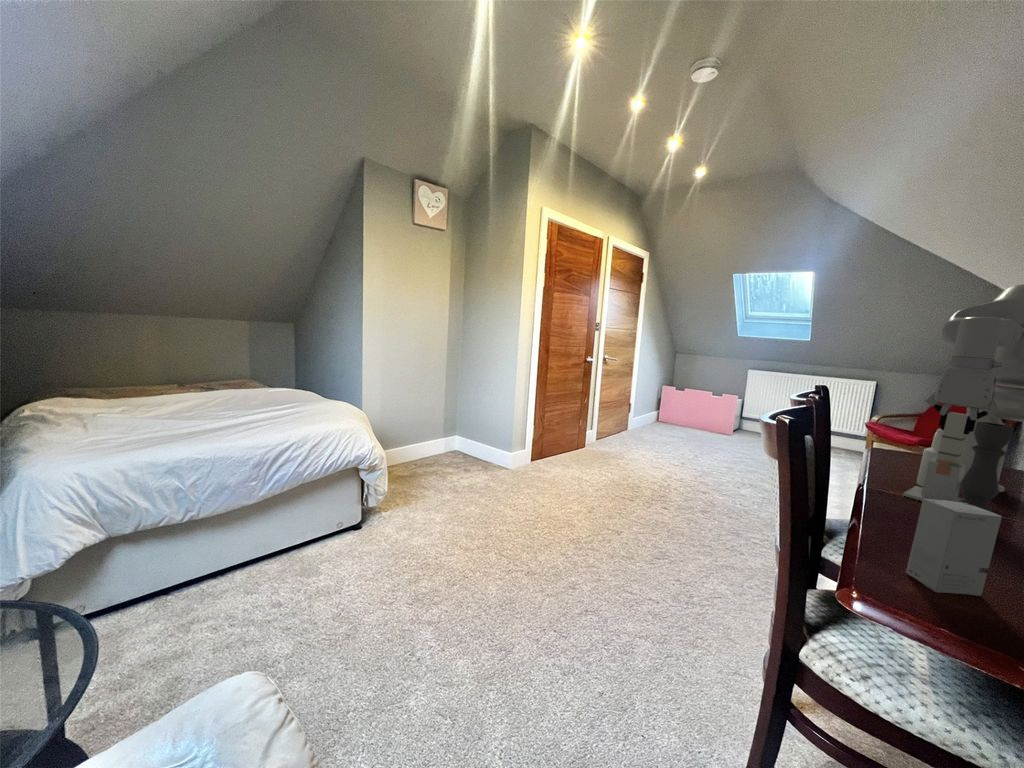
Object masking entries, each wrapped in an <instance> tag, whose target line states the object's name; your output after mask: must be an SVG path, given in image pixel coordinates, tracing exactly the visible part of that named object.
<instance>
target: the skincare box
mask: <svg viewBox="0 0 1024 768" xmlns="http://www.w3.org/2000/svg"><path fill="white" fill-rule="evenodd" d="M918 515H919V516H918V519H917V523H916V528H915V531H914V537H913V539H912V540H913V541H912V545H911V549H910V553H909V558H908V562H907V565H906V566H907V567H906V570H905V573H906V574H907V575H909V576H910V577H912V578H913V579H915V580H916V581H917V582H919V583H921V584H922V585H923V586H925V587H926V588H928V589H930V591H933V592H934V593H939V594H940V593H943V594H957V595H959V594H960V595H970V596H977V597H979V596H982V594H983V593H984V592H983V591H984V587H985V583H986V579H987V576H988V572H989V568H990V565H991V560H992V558H993V557H992V556H993V553H994V548H995V544H996V540H997V537H998V533H999V530H1000V525H1001V521H1002V518H1003V516H1002V515H999V514H997V513H995V512H993V511H992V512H990V511H987V510H984V509H981V508H979V507H976V506H973V505H971V504H968V503H961V502H952V501H947V500H933V499H923V501H922V502H921V506H920V510H919V514H918Z"/></svg>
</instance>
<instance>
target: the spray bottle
mask: <svg viewBox="0 0 1024 768" xmlns="http://www.w3.org/2000/svg"><path fill="white" fill-rule="evenodd" d="M943 432H944V430H941V428H938V429H936V432H935V434H934V436H933V440H932V443H931V447H926V448H924V449H923V452H922V457H921V461H920V466H919V470H918V474H917V479H916V485H917V486H919V487H922V488H923V485H924V481H925V477H926V473H927V468H928V464H929V461H930V460H932V459H934V458H937V457H938V451H939V449H940V445H941V440H942V435H943Z"/></svg>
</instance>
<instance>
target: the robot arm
mask: <svg viewBox="0 0 1024 768" xmlns="http://www.w3.org/2000/svg"><path fill="white" fill-rule="evenodd" d="M1023 329H1024V284H1017V285H1012V286H1009V287H1007V288H1005V289H1004V290H1002V291H1001V292H1000V293H999V294H998V295H997V296H996V297H995V298H994V299H993V300H992V301H989V302H985V303H981V304H977V305H974V306H973V305H972V306H968V307H966V308H965V307H964V308H963V309H960V310H958V311H956V312H955V313H954V314H952V315H951V316H950V317H949V318H948V319H947V320H946V321H945V323H944V324H943V326H942V329H941V338H942V340H943V341H944V342H946V343H948V344H950V345H953V351H952V355H951V359H950V363H949V367H948V366H946V367H945V369H943V370H944V371H943V373H942V374H941V377H940V379H939V382H938V385H937V388H936V391H935V392H933V394H932V395H931V396H929V397H928V398H927V399H926V400H925V403H926V404H928V405H929V406H931V407H933V408H934V410H936V411H937V412H938V413H939V415H940V418H939V422H938V426H939V427H940V429H941V430H944V428H945V423H946V419H947V415H948V413H949V412H950V410H951V408H952V406H956V407H963V408H966V414H967V415H970V417H969V419H968V420H967V421H966V425H965V429H964V434H966V435H965V440H964V443H963V447H962V452H961V456H960V460H959V464H964V465H966V466H965V470H964V474H963V478H964V476H965V475H966V473H967V472H968V470H969V469H970V467H971V466H972V463H973V459H974V455H975V452H974V450H973V449H972V447H973V446H976V445H977V442H976V440H975V435H974V432H975V428H976V423H977V422H988V423H996V424H1002V425H1006V424H1005V423H1004V422H1003V421H1002V420H1008V421H1015V422H1022V423H1024V330H1023ZM1009 442H1010V441H1008V444H1007V445H1005V446H1004V447H1003V448H1002V450H1003V451H1004V452H1005V453H1007V450H1008V446H1009ZM1005 457H1006V454H1005V455H1004V456H1001V457H1000V458H999V462H998V466H997V478H998V482H999V481H1000V476H1001V473H1002V469H1003V466H1004V462H1005ZM963 478H962V480H963ZM998 488H999V492H998V493H1003V492H1005V489H1006V488H1005V487H1004V486H1003V485H1001V484H999V483H998Z"/></svg>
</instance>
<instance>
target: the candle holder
mask: <svg viewBox="0 0 1024 768" xmlns="http://www.w3.org/2000/svg"><path fill="white" fill-rule="evenodd" d="M1014 428H1015V427H1014V426H1012V425H1011V426H1010V425H1007V424H1005V425H1002V424H996V423H988V422H977V423H976V428H975V432H974V435H975V440H976V442H977V445H976V446H973V447H972V449H973V450H974V452H975V455H974V459H973V463H972V466H971V467H970V469H969V470H968V472H967V473H966V475H965V476H964V478H963V480H962V481H961V483H960V490H961V492H962V493H963V494H962V496H963V497H961V498H962V499H961V500H959V501H957V502H961V503H968V504H971V505H973V506H976V507H979V508H981V509H984V510H987V511H990V512H992V513H993V508H991V506H990V505H989V503H990V502H991V500H993V499H994V498H996V497H997V496H998V495H999V493H1000V492H999V488H998V484H999V481H998V478H997V466H998V462H999V458H1000V457H1001V456H1004V455H1005V456H1006V453H1007V452H1006V453H1005V452H1004V451H1003V450H1002V448H1003V447H1004V446H1005V445H1007V444H1008V445H1009V443H1008V441H1009V442H1011V441H1012V440H1011V439H1012V436H1013V433H1014V430H1015V429H1014Z"/></svg>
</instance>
